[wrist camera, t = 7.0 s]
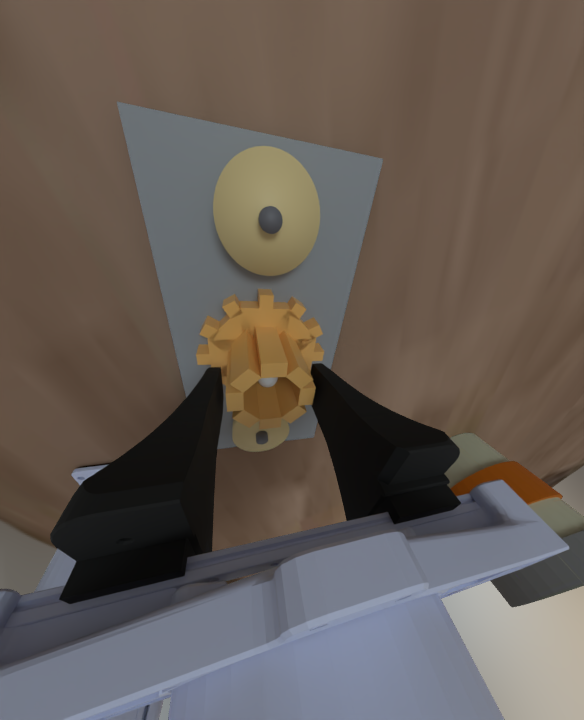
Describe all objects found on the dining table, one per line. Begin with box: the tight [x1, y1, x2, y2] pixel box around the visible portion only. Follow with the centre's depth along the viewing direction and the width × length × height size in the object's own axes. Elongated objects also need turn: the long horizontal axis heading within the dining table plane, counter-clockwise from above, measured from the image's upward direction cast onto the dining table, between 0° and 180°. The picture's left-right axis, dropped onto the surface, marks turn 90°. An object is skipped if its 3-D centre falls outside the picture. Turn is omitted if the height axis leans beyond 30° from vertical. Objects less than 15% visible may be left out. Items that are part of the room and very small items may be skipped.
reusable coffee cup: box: [444, 433, 584, 607], centre depth 27 cm, size 13×13×15 cm
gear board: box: [117, 102, 383, 452], centre depth 14 cm, size 21×11×5 cm, turn 174°
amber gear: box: [196, 289, 324, 429], centre depth 13 cm, size 8×8×5 cm
